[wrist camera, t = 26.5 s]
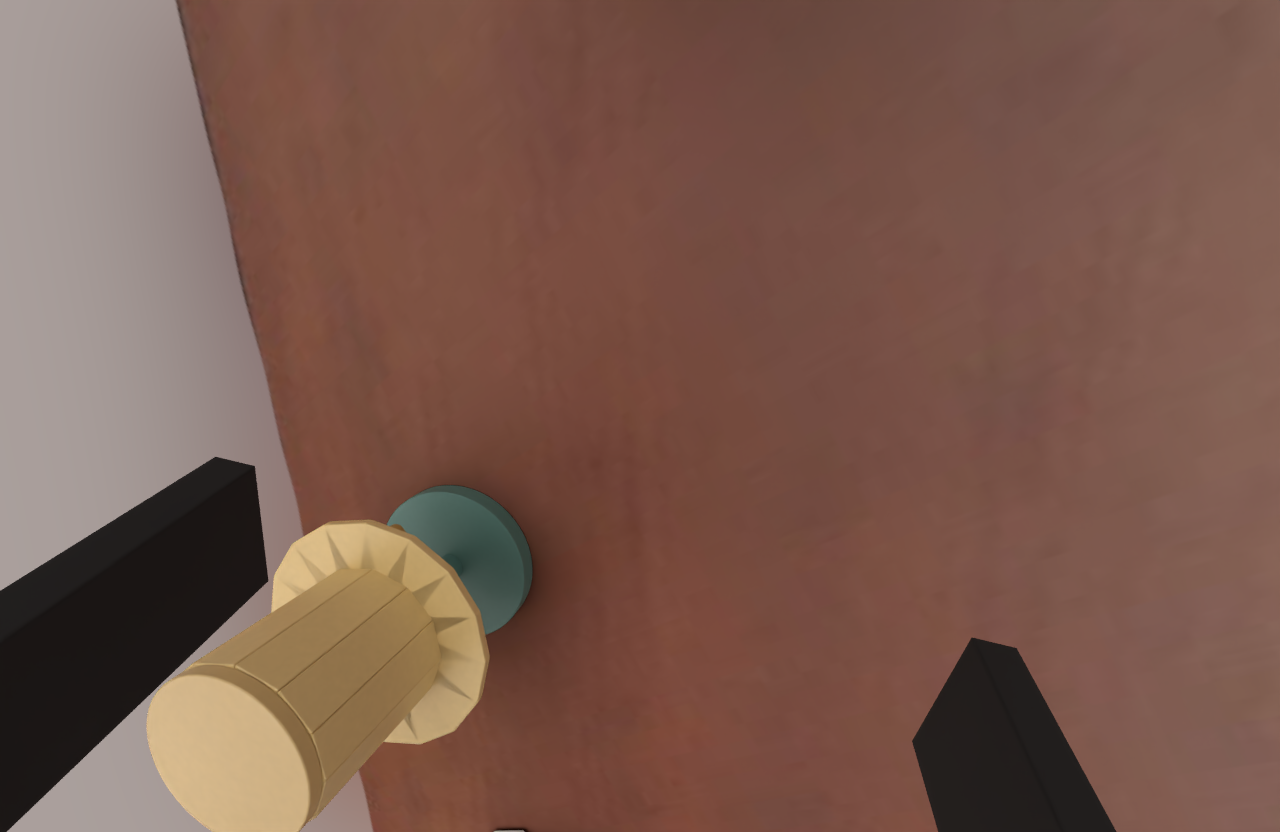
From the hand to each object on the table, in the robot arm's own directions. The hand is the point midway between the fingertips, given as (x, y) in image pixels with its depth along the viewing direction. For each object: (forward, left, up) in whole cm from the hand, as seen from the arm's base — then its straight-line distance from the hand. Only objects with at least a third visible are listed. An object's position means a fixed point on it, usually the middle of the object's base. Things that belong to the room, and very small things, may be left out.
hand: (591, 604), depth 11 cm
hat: (+13, -23, -19) cm, 33 cm away
